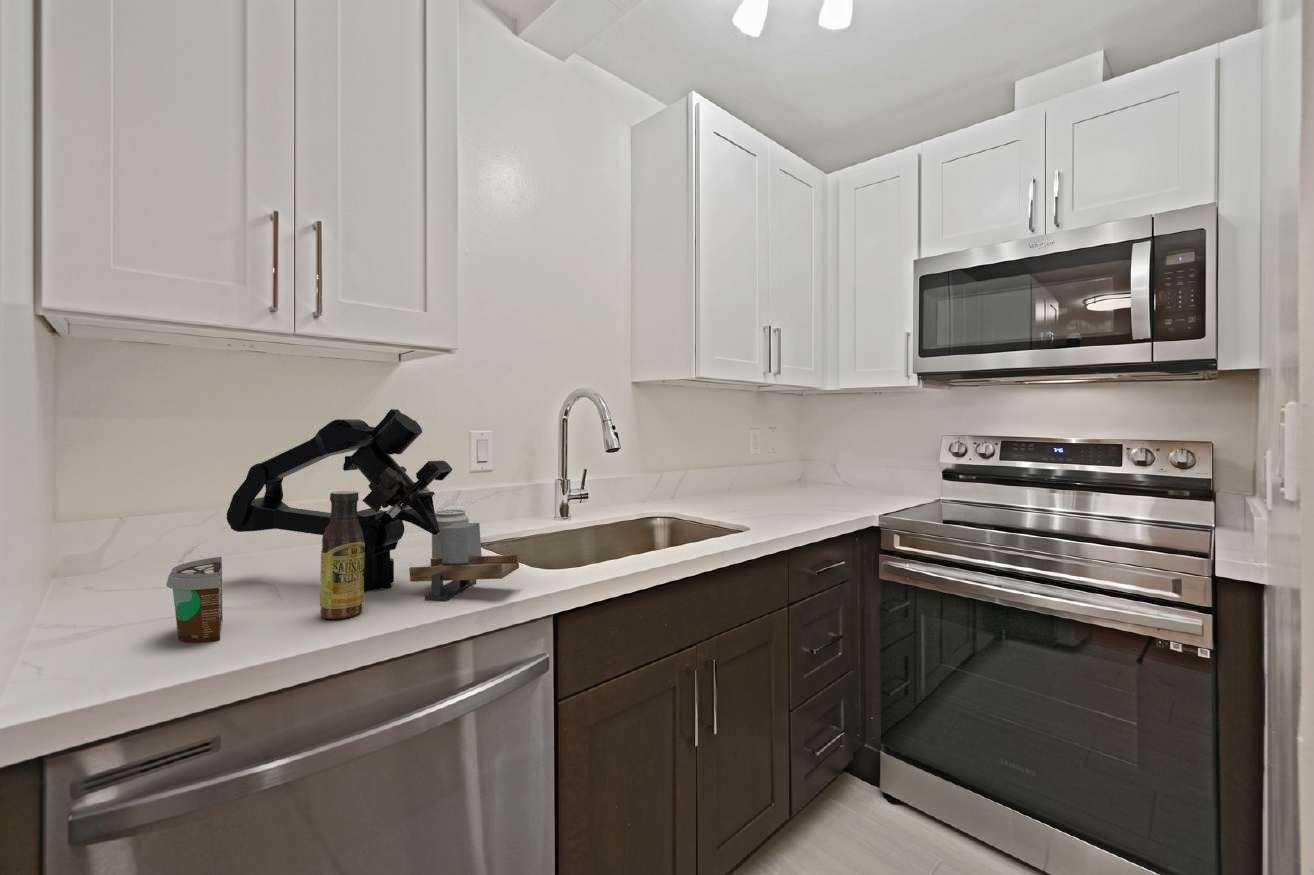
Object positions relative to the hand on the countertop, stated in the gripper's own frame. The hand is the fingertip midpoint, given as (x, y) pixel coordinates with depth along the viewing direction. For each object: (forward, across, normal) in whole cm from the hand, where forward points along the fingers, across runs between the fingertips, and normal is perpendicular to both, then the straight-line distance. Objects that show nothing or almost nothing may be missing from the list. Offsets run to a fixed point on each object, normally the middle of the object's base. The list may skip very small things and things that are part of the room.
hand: (437, 533), depth 106 cm
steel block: (+8, -1, 0) cm, 8 cm away
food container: (-8, -26, -24) cm, 37 cm away
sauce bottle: (+2, -14, -14) cm, 20 cm away
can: (+3, -11, +18) cm, 21 cm away
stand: (+10, -5, 0) cm, 11 cm away
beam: (+9, -1, 0) cm, 9 cm away
